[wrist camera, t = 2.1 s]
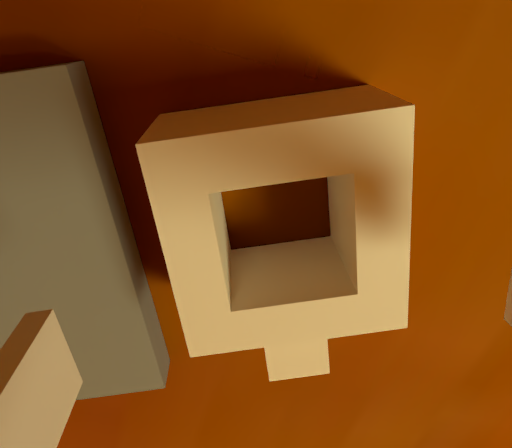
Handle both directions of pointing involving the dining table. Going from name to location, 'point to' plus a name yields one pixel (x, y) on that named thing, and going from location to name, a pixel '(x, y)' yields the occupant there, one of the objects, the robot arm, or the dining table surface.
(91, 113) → the post board
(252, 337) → the square ring
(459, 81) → the dining table surface
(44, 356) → the robot arm
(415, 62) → the dining table surface
